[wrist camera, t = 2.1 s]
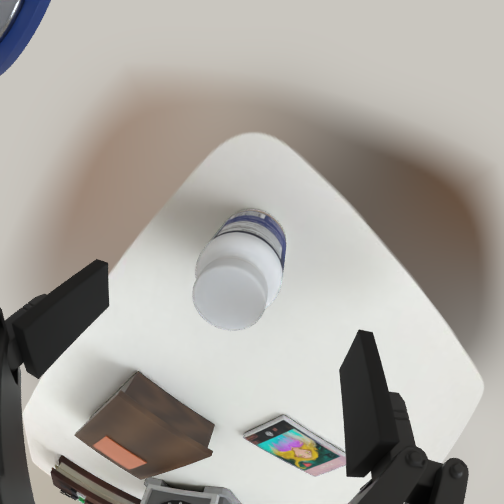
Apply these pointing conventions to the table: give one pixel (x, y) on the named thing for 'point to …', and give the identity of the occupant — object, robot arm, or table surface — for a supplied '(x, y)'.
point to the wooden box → (147, 430)
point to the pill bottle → (240, 270)
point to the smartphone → (296, 446)
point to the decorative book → (87, 486)
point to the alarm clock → (184, 494)
